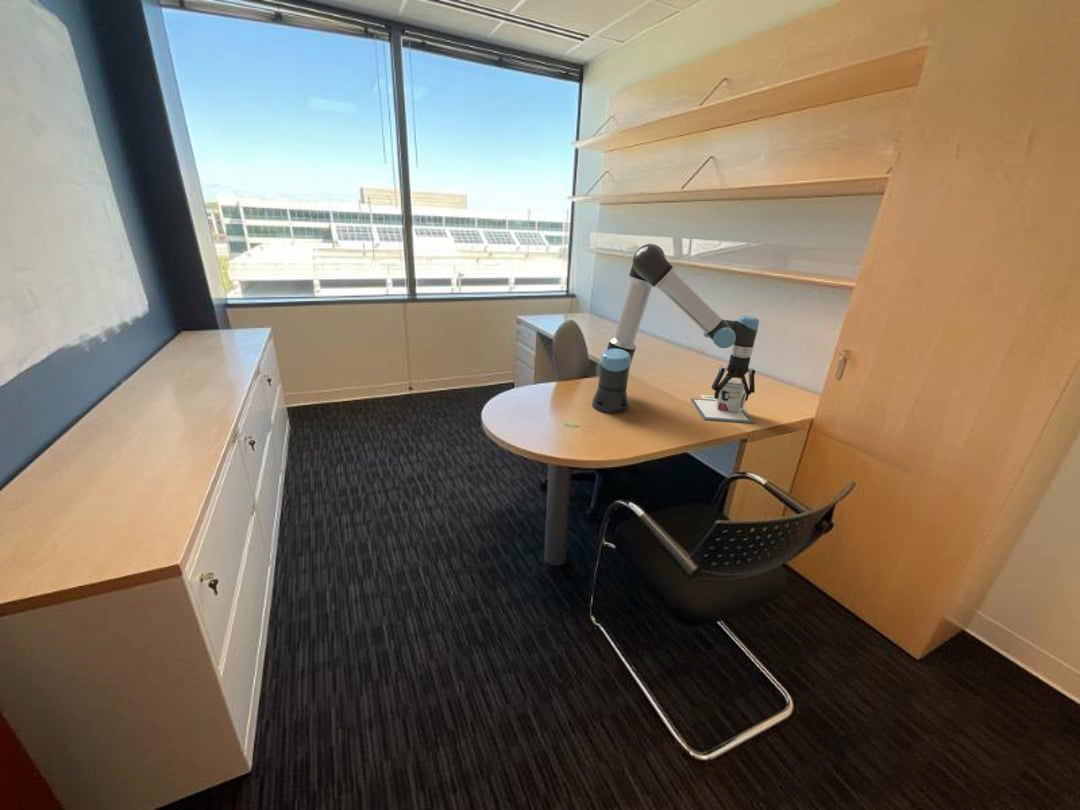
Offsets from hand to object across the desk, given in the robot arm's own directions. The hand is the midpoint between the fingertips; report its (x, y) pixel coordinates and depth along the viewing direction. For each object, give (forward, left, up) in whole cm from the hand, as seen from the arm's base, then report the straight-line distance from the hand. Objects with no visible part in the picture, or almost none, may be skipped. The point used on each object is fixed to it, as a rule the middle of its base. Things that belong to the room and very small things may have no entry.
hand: (728, 406), depth 186 cm
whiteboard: (-3, 0, -2) cm, 4 cm away
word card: (-3, +15, -2) cm, 15 cm away
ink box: (0, 0, -1) cm, 1 cm away
